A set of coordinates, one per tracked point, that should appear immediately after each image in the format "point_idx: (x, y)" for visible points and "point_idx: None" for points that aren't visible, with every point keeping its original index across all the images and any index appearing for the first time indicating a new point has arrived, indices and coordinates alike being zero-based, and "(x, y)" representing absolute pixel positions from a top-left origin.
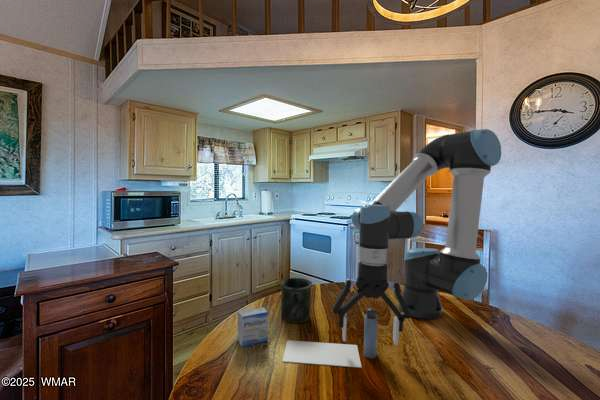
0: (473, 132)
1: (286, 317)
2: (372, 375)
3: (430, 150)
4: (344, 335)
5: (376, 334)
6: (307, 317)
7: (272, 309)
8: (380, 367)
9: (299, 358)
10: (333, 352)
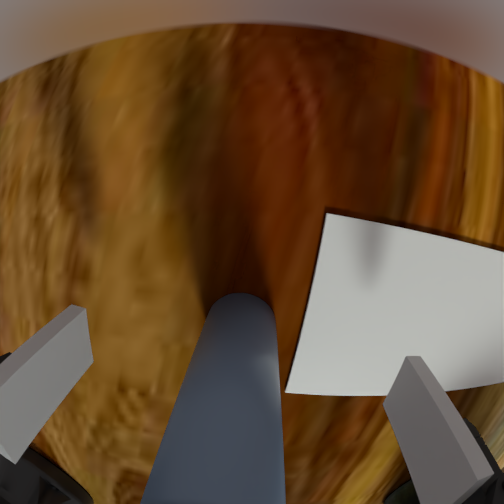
0: None
1: None
2: (284, 145)
3: None
4: (429, 378)
5: (186, 385)
6: (408, 490)
7: None
8: (216, 213)
9: None
10: (419, 333)
